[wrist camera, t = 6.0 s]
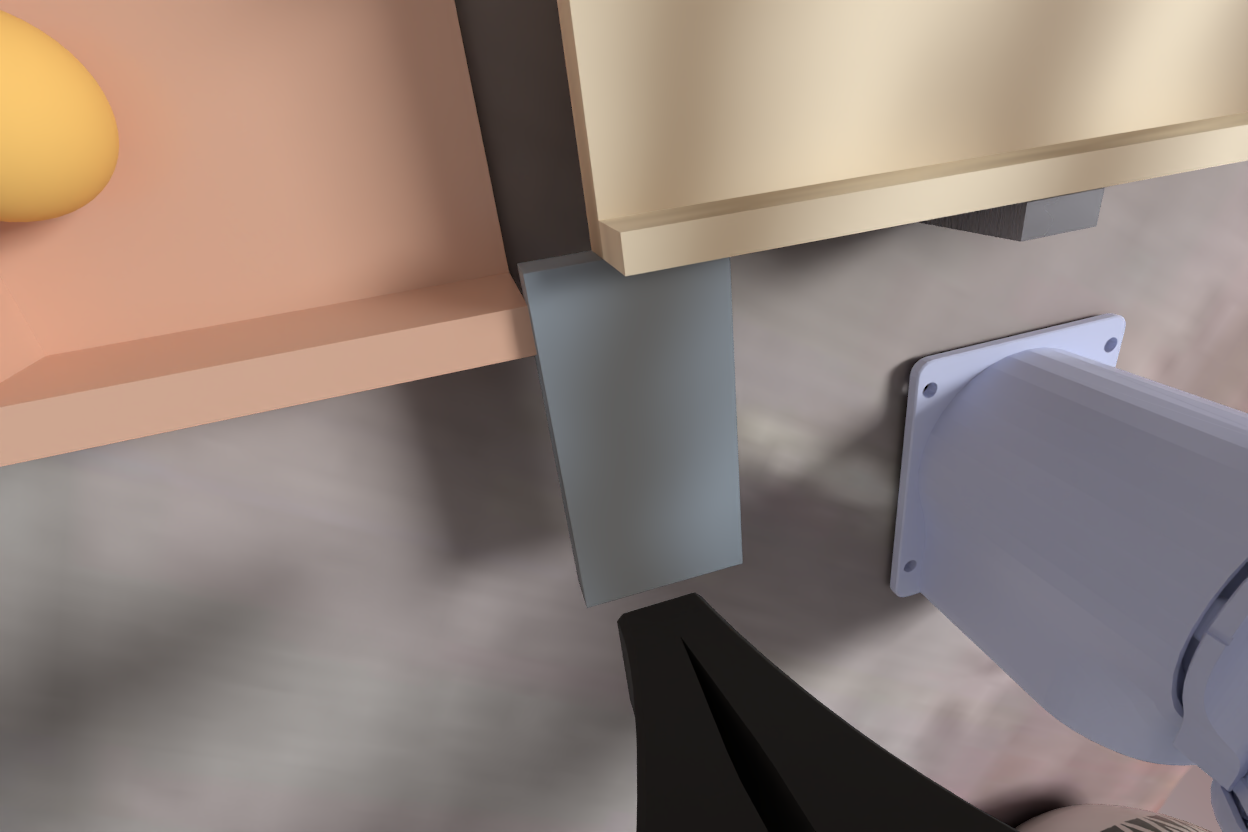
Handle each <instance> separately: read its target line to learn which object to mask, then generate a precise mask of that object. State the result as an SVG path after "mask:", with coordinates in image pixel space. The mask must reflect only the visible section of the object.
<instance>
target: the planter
mask: <svg viewBox="0 0 1248 832" xmlns="http://www.w3.org/2000/svg"><path fill="white" fill-rule="evenodd" d="M1014 829H1016V830H1018V831H1020V832H1211V831H1209V830H1207V829H1204V828H1201V827H1199V826H1197V825H1194V824H1192V823H1189V822H1187V821H1184V820H1180V819H1177V818H1174V817H1170V816H1167V815H1164V814H1160V813H1156V812H1151V811H1147V810H1143V809H1137V808H1131V807H1125V806H1117V805H1105V804H1080V805H1073V806H1067V807H1062V808H1058V809H1054V810H1051V811H1048V812H1045V813H1042V814H1040V815H1037V816H1035V817H1033V818H1031V819H1029V820H1027V821H1025V822H1024V823H1022V824H1020V825H1019V826H1017V827H1016V828H1014Z"/></svg>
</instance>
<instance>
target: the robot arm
mask: <svg viewBox="0 0 1248 832" xmlns="http://www.w3.org/2000/svg"><path fill="white" fill-rule="evenodd" d="M1125 325H1126V322H1125V319H1124V318H1123V317H1122V316H1120V315H1116V314H1113V313H1107V314H1103V315H1099V316H1094V317H1090V318H1086V319H1082V320H1078V321H1073V322H1069V323H1065V324H1061V325H1057V326H1052V327H1048V328H1044V329H1040V330H1036V331H1032V332H1027V333H1023V334H1019V335H1015V336H1011V337H1006V338H1002V339H998V340H994V341H990V342H985V343H981V344H977V345H973V346H969V347H964V348H960V349H956V350H952V351H948V352H944V353H939V354H935V355H931V356H927V357H924V358H922V359H920V360H919V361H918V362H916V363H915V365H914V366H913V368H912V370H911V374H910V381H909V392H908V402H907V412H906V423H905V433H904V444H903V454H902V465H901V475H900V486H899V496H898V507H897V517H896V528H895V538H894V549H893V559H892V570H891V580H890V589H891V590H892V591H893V592H894V593H895V594H896V595H897V596H898V597H907V596H911V595H914V594H917V593H920V592H921V593H922V594H923V595H924V596H925V597H926V598H927V599H928V600H929V601H930V602H931V603H932V604H933V605H934V606H935V607H936V608H938V609H939V610H940V611H941V612H942V613H943V614H944V615H945V616H946V617H947V618H948V619H949V620H950V621H951V622H952V623H953V624H954V625H956V626H957V627H958V628H959V629H960V630H961V631H962V632H963V633H964V634H965V635H966V636H967V637H968V638H969V639H970V640H971V641H973V642H974V643H975V644H976V645H977V646H978V647H979V648H980V649H981V650H982V651H983V652H984V653H985V654H986V655H987V656H988V657H990V658H991V659H992V660H993V661H994V662H995V663H996V664H997V665H998V666H999V667H1000V668H1001V669H1002V670H1003V671H1004V672H1005V673H1007V674H1008V675H1009V676H1010V677H1011V678H1012V679H1013V680H1014V681H1015V682H1016V683H1017V684H1018V685H1019V686H1020V687H1021V688H1022V689H1024V690H1025V691H1026V692H1027V693H1028V694H1029V695H1030V696H1031V697H1032V698H1033V699H1034V700H1035V701H1036V702H1037V703H1038V704H1039V705H1041V706H1042V707H1043V708H1044V709H1045V710H1046V711H1047V712H1049V713H1050V714H1051V715H1052V716H1054V717H1055V718H1056V719H1057V720H1059V721H1060V722H1062V723H1063V724H1065V725H1066V726H1068V727H1069V728H1071V729H1072V730H1074V731H1075V732H1077V733H1079V734H1081V735H1082V736H1084V737H1086V738H1088V739H1090V740H1091V741H1093V742H1096V743H1098V744H1100V745H1102V746H1104V747H1106V748H1109V749H1111V750H1113V751H1116V752H1118V753H1121V754H1123V755H1126V756H1129V757H1132V758H1135V759H1138V760H1142V761H1146V762H1151V763H1157V764H1166V765H1197V766H1198V767H1199V768H1201V769H1202V770H1203V771H1204V772H1206V773H1207V774H1208V775H1209V776H1211V777H1212V778H1213V781H1212V784H1211V804H1212V807H1213V810H1214V814H1215V817H1216V820H1217V822H1218V824H1219V826H1220V828H1221V830H1222V832H1248V413H1245V412H1242V411H1239V410H1236V409H1233V408H1231V407H1228V406H1225V405H1222V404H1219V403H1216V402H1213V401H1210V400H1207V399H1204V398H1202V397H1199V396H1196V395H1193V394H1190V393H1187V392H1184V391H1181V390H1178V389H1176V388H1173V387H1170V386H1167V385H1164V384H1161V383H1158V382H1155V381H1152V380H1150V379H1147V378H1144V377H1141V376H1138V375H1135V374H1132V373H1129V372H1126V371H1124V370H1121V369H1118V368H1115V366H1116V362H1117V358H1118V354H1119V350H1120V347H1121V343H1122V339H1123V335H1124V331H1125ZM927 384H928V387H927V389H926V390H925V391H924V392H923V390H924V388H925V386H926V385H927ZM617 623H618V629H619V635H620V641H621V647H622V653H623V659H624V665H625V671H626V677H627V683H628V689H629V695H630V701H631V704H632V707H633V711H634V715H635V720H636V735H637V831H636V832H1020V831H1018V830H1016V829H1014V828H1012V827H1011V826H1009V825H1007V824H1005V823H1003V822H1002V821H1000V820H998V819H996V818H994V817H993V816H991V815H989V814H987V813H985V812H984V811H982V810H980V809H978V808H976V807H975V806H973V805H971V804H970V803H968V802H966V801H965V800H963V799H961V798H960V797H958V796H957V795H955V794H953V793H952V792H950V791H949V790H947V789H945V788H944V787H942V786H940V785H939V784H937V783H936V782H934V781H932V780H931V779H929V778H927V777H926V776H924V775H923V774H921V773H920V772H918V771H917V770H915V769H914V768H912V767H911V766H909V765H908V764H906V763H905V762H903V761H902V760H900V759H898V758H897V757H895V756H894V755H892V754H891V753H889V752H888V751H887V750H885V749H884V748H882V747H881V746H879V745H878V744H876V743H875V742H874V741H872V740H871V739H869V738H868V737H867V736H865V735H864V734H862V733H861V732H860V731H858V730H857V729H855V728H854V727H853V726H851V725H850V724H849V723H847V722H846V721H845V720H843V719H842V718H841V717H839V716H838V715H837V714H835V713H834V712H833V711H831V710H830V709H829V708H827V707H826V706H825V705H823V704H822V703H821V702H820V701H818V700H817V699H816V698H815V697H813V696H812V695H811V694H809V693H808V692H807V691H806V690H804V689H803V688H802V687H801V686H800V685H798V684H797V683H796V682H795V681H794V680H792V679H791V678H790V677H789V676H788V675H786V674H785V673H784V672H783V671H782V670H780V669H779V668H778V667H777V666H776V665H774V664H773V663H772V662H771V661H770V660H768V659H767V658H766V657H765V656H764V655H763V654H762V653H760V652H759V651H758V650H757V649H756V648H755V647H754V646H753V645H751V644H750V643H749V642H748V641H747V640H746V639H745V638H744V637H743V636H742V635H740V634H739V633H738V632H737V631H736V630H735V629H734V628H733V627H732V626H731V625H730V624H729V623H728V622H727V621H726V620H724V619H723V618H722V617H721V616H720V615H719V614H718V613H717V612H716V611H715V610H714V609H713V608H712V607H711V606H710V605H709V604H708V603H707V602H706V601H705V600H704V599H703V598H702V597H701V596H700V595H698V594H696V593H691V594H688V595H685V596H681V597H678V598H675V599H671V600H668V601H665V602H661V603H658V604H654V605H651V606H648V607H644V608H641V609H638V610H634V611H631V612H628V613H624V614H623V615H622V616H621V617H620V618H619V620H618V621H617Z"/></svg>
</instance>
